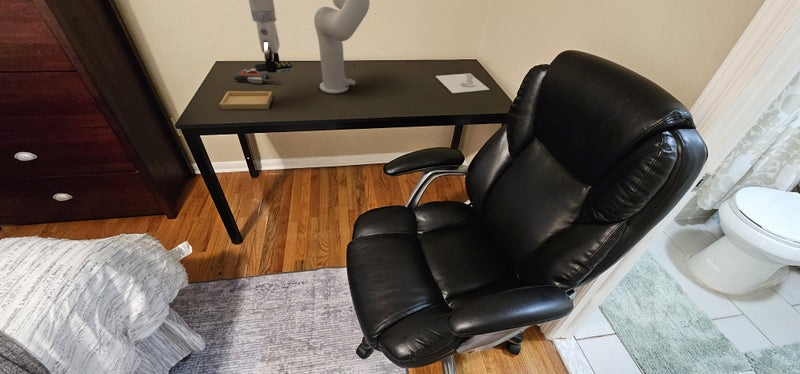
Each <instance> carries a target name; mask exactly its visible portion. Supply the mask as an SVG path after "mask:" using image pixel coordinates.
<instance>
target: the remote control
mask: <svg viewBox="0 0 800 374" xmlns="http://www.w3.org/2000/svg"><path fill="white" fill-rule="evenodd" d="M275 64H276V69H277V72H267V68H266V63H258V64H255V65H254V69H255V70H256V71H257V73H258V74H268V75H269V74H278V73H285V72H291V71H293V65H292V64H291V62H290V61H288V60H285V61H280V62H275Z"/></svg>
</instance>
